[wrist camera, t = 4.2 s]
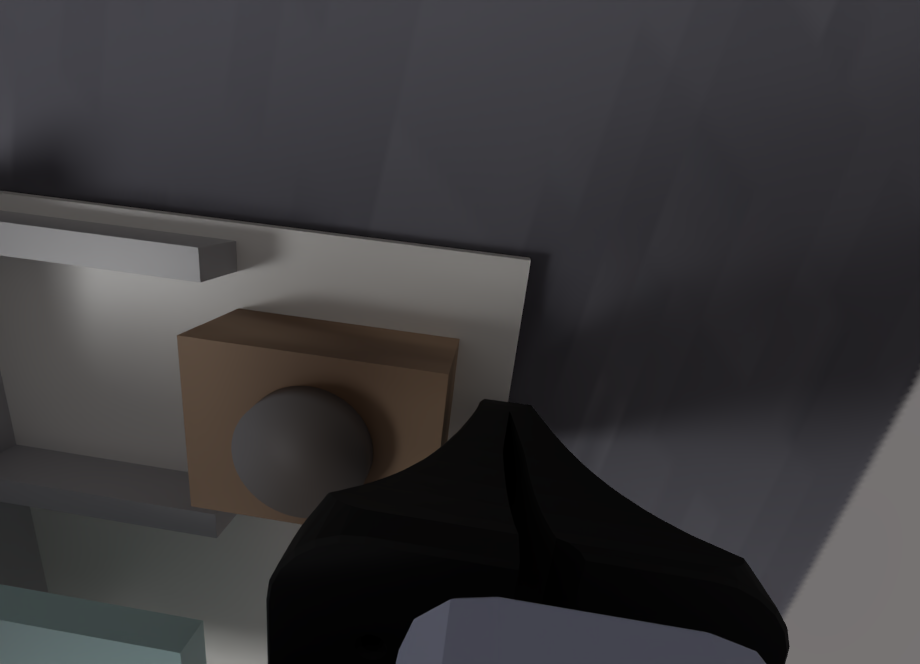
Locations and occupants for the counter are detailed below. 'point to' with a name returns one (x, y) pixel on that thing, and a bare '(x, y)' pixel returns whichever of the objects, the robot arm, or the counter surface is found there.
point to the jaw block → (306, 408)
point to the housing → (159, 388)
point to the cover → (92, 632)
